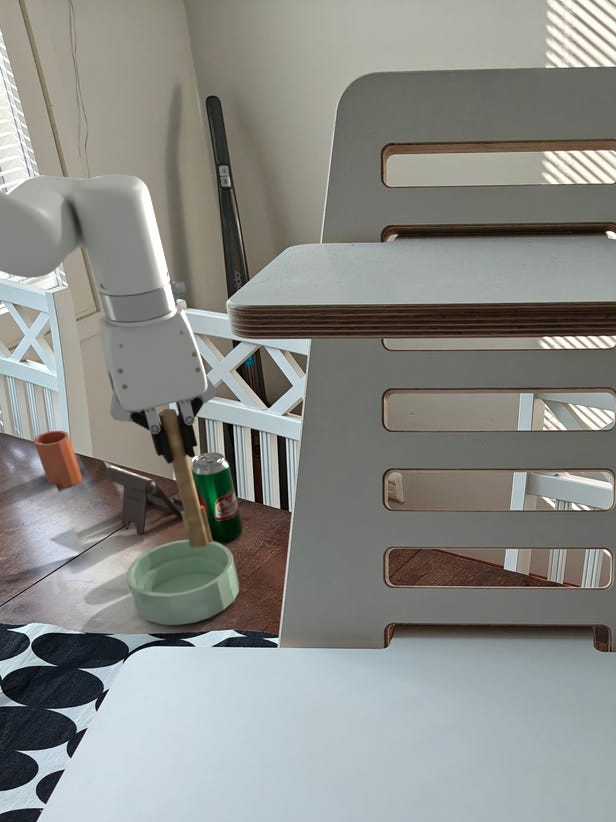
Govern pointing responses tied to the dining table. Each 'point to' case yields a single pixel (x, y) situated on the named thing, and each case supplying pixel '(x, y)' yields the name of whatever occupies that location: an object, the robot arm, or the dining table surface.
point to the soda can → (217, 496)
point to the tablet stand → (141, 497)
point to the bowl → (183, 582)
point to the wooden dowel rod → (185, 483)
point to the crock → (58, 459)
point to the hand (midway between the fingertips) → (178, 454)
